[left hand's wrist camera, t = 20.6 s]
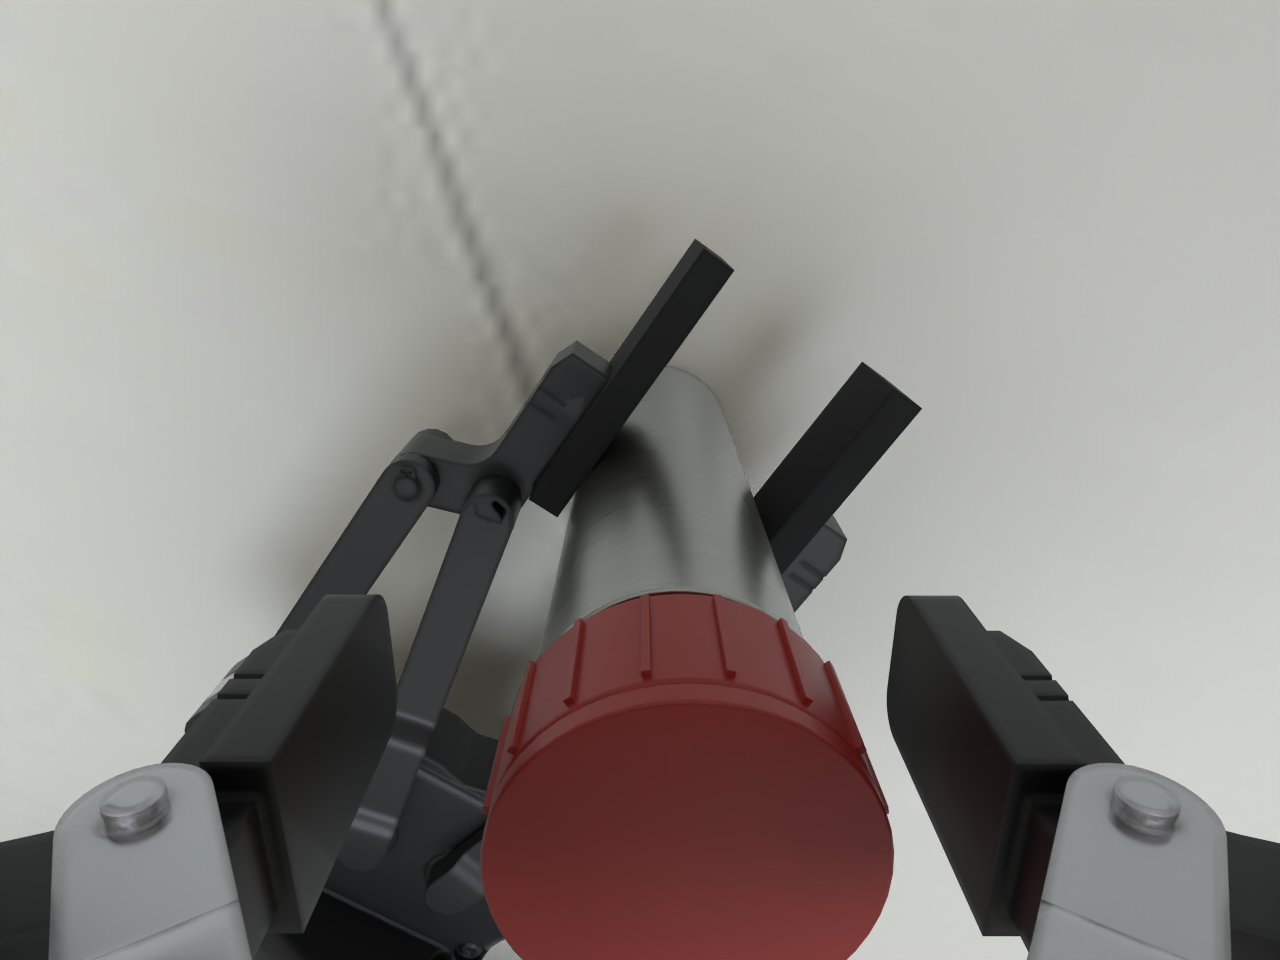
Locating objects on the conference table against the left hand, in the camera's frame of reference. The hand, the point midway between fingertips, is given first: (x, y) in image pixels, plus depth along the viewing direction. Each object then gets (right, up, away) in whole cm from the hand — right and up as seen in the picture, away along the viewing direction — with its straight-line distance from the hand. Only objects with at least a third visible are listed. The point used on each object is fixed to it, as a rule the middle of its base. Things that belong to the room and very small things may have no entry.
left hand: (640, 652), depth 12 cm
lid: (0, -2, -2) cm, 3 cm away
